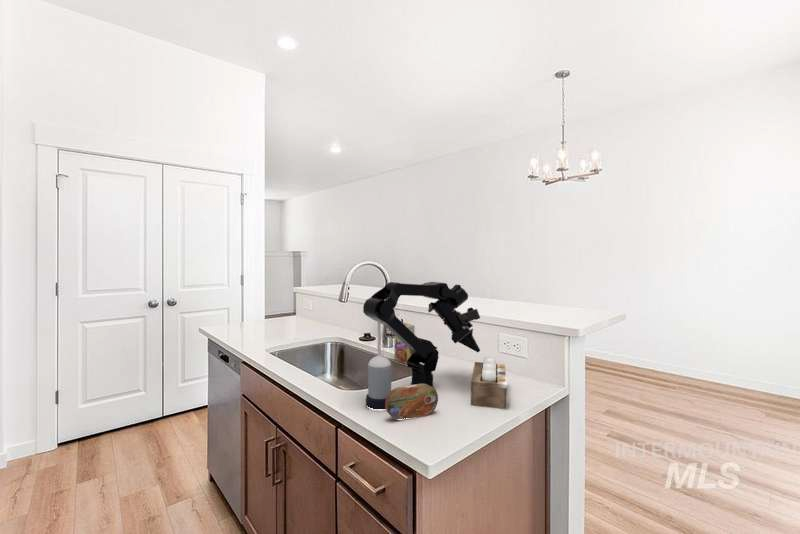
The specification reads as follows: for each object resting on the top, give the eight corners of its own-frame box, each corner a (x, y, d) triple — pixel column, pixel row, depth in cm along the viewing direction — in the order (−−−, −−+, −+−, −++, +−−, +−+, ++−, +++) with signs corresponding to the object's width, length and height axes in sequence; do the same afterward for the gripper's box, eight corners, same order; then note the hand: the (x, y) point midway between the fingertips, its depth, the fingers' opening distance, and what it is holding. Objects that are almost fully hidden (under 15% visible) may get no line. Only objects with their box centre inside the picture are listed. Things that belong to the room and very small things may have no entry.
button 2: (483, 373, 123) (483, 359, 123) (483, 369, 127) (483, 356, 127) (495, 374, 122) (496, 360, 122) (495, 370, 126) (496, 357, 126)
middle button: (482, 380, 117) (482, 365, 117) (483, 375, 121) (483, 362, 121) (495, 381, 116) (496, 366, 116) (495, 377, 120) (496, 363, 120)
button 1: (481, 387, 111) (481, 372, 110) (482, 382, 114) (482, 368, 114) (495, 388, 110) (495, 373, 109) (495, 384, 113) (496, 369, 113)
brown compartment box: (470, 405, 110) (471, 380, 110) (474, 382, 129) (475, 361, 129) (506, 408, 108) (506, 384, 107) (504, 384, 127) (505, 363, 127)
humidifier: (379, 397, 116) (378, 316, 114) (399, 404, 110) (399, 320, 109) (359, 406, 109) (359, 320, 108) (380, 414, 104) (379, 324, 103)
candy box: (393, 359, 156) (393, 322, 155) (401, 357, 159) (402, 321, 158) (406, 364, 149) (406, 326, 148) (414, 362, 151) (415, 325, 151)
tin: (388, 423, 98) (388, 391, 98) (383, 418, 101) (383, 387, 101) (438, 413, 104) (438, 383, 104) (433, 409, 107) (433, 380, 107)
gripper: (465, 300, 118) (498, 340, 115) (468, 298, 136) (497, 332, 133) (438, 323, 120) (470, 362, 117) (445, 318, 138) (473, 352, 135)
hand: (479, 351), depth 126 cm, fingers closed
